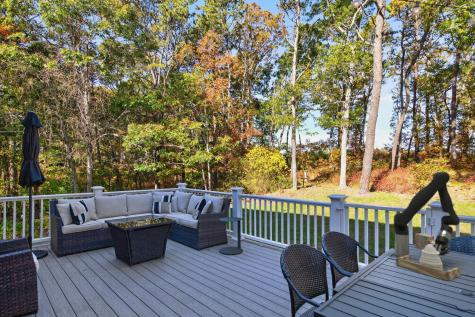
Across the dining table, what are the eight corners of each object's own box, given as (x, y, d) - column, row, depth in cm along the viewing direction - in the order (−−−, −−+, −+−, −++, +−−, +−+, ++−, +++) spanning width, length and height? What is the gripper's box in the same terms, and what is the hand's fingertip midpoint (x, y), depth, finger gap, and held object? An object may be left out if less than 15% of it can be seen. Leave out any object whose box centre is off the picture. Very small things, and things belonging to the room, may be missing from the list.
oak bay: (409, 261, 198) (409, 254, 198) (460, 275, 171) (460, 267, 171) (396, 265, 190) (396, 258, 190) (447, 281, 163) (447, 272, 163)
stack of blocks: (445, 254, 214) (445, 238, 215) (439, 255, 213) (438, 239, 213) (421, 247, 235) (420, 232, 235) (415, 247, 233) (414, 233, 234)
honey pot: (435, 266, 188) (434, 240, 189) (447, 273, 175) (446, 245, 176) (415, 265, 189) (414, 239, 190) (426, 272, 177) (425, 244, 177)
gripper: (430, 233, 197) (422, 253, 191) (452, 237, 186) (444, 258, 179) (434, 239, 200) (426, 259, 193) (456, 243, 188) (448, 265, 181)
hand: (435, 258), depth 186 cm, fingers closed
